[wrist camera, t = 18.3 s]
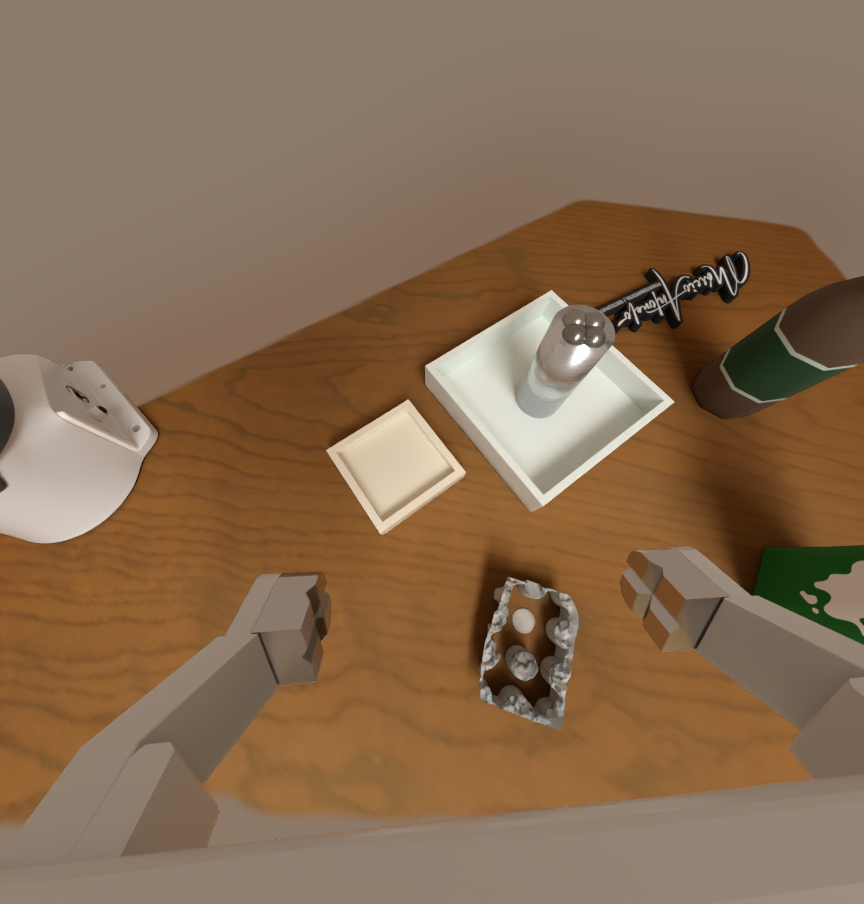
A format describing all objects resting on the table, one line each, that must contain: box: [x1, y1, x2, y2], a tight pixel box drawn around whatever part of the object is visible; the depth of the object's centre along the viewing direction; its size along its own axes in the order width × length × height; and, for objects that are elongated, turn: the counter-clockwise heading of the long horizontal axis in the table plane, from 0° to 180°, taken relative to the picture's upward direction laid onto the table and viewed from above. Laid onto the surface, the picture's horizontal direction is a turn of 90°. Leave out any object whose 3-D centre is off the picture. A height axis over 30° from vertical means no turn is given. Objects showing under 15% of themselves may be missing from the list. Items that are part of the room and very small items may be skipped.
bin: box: [425, 290, 674, 513], centre depth 38 cm, size 20×20×4 cm
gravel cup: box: [515, 305, 615, 418], centre depth 33 cm, size 6×6×13 cm
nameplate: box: [597, 251, 750, 334], centre depth 46 cm, size 28×2×10 cm
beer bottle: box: [692, 276, 864, 419], centre depth 29 cm, size 8×8×24 cm
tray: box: [326, 400, 466, 535], centre depth 35 cm, size 11×11×2 cm
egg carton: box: [479, 577, 579, 730], centre depth 29 cm, size 11×8×4 cm
